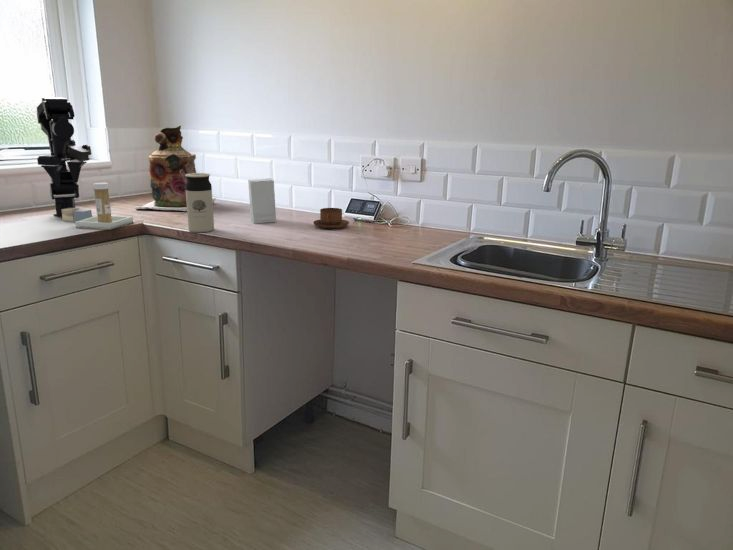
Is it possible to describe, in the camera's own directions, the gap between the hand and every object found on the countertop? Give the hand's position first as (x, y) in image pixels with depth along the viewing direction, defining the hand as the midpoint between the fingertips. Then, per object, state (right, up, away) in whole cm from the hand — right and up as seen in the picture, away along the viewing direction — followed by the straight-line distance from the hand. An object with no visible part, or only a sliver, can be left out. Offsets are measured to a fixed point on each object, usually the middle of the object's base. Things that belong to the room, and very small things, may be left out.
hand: (67, 184), depth 192 cm
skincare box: (+66, -12, +7) cm, 67 cm away
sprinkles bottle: (+14, -14, -2) cm, 20 cm away
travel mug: (+48, -17, -9) cm, 52 cm away
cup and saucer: (+90, -15, -1) cm, 91 cm away
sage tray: (+14, -14, -3) cm, 20 cm away
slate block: (+4, -13, +3) cm, 14 cm away
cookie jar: (+25, -3, +37) cm, 44 cm away
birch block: (-2, -12, +6) cm, 13 cm away
